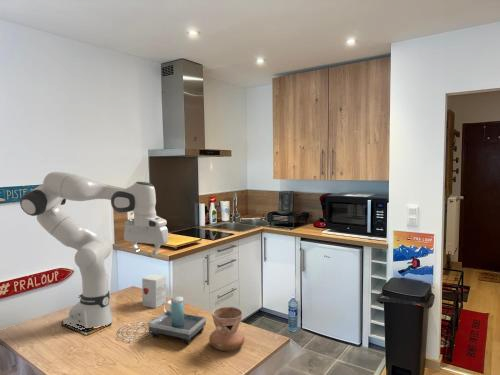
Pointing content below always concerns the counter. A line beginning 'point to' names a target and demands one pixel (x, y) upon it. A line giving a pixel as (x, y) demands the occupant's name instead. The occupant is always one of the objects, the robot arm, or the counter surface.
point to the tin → (177, 311)
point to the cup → (168, 305)
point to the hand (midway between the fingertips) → (146, 253)
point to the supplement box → (154, 290)
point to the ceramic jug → (226, 329)
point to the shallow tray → (184, 331)
